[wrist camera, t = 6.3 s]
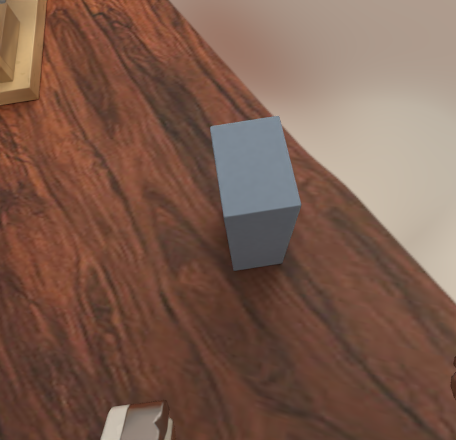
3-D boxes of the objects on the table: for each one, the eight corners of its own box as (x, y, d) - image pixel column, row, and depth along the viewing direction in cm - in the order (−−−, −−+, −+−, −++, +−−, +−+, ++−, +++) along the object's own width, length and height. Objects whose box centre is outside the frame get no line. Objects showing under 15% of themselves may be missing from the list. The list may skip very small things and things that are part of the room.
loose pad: (233, 271, 25) (223, 217, 15) (223, 207, 26) (209, 125, 17) (282, 263, 25) (301, 205, 15) (269, 200, 26) (279, 115, 17)
